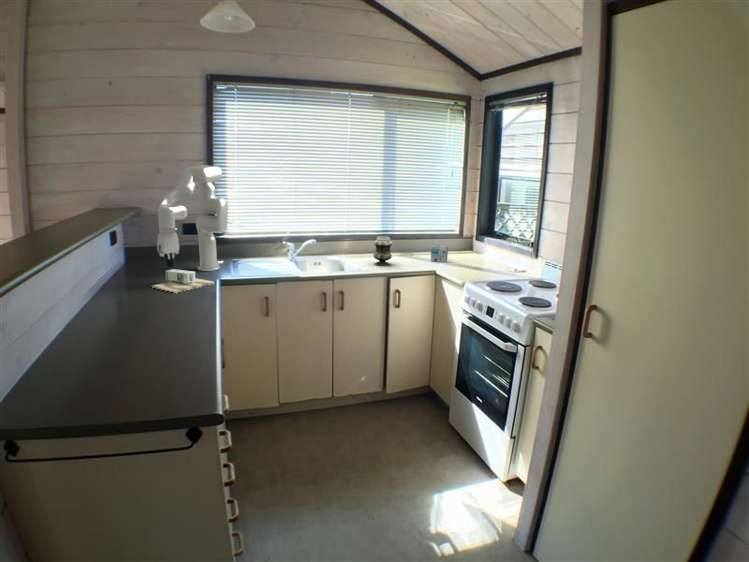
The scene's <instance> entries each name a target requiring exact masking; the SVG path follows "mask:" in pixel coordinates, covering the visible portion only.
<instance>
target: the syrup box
mask: <svg viewBox="0 0 749 562" xmlns="http://www.w3.org/2000/svg"><path fill="white" fill-rule="evenodd" d="M195 278H196V271H191V270H183V269H175V268H172V269H167V270H165V282H175V283H183V284H191V283H195Z"/></svg>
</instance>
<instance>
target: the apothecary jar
mask: <svg viewBox="0 0 749 562" xmlns="http://www.w3.org/2000/svg"><path fill="white" fill-rule="evenodd" d="M373 245H374V246H375V252H374V253H373V258H374V259H375V260H376V261H377V262H374V265H376V266H380V267H381V266H382V267H386V266H387V267H388V266H390V262H387V261H390V260H391V259H392V257H393V254H391V247H392V245H393V241H392V240H391V238H390V236H385V235H384V236H383V235H381V236H380V235H379V236H377V237H376V239H375V240H374V242H373Z"/></svg>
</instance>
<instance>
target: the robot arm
mask: <svg viewBox="0 0 749 562" xmlns="http://www.w3.org/2000/svg"><path fill="white" fill-rule="evenodd" d="M222 178H223V170H222V168H221V167H219V166H218V165H206V164H204V165H203V164H201V165H200V164H198V165H194V166H188V167H186V168H185V169H184V171H183V173H182V176H181V178H180V180H179V182H178V184H177V186H176V187H175V188H173V189H172V190H170V191H169V192H167V193H166V194H165V195H164V196H163V197H162V199H161V201H160V204H159V205H158V206H159V207H158V208H157V213H158V214H157V215H158V216H157V217H158V228H159V229H158V230H159V233H158V234H157V242H156V247H157V248H156V249H157V253H158V255H159V257H163V258H164V259H166V260H165V261H166V263H165V264H166V267H170V268H171V267H174V259H175V256H176V255H178V254H180V242H179V237H178V233H177V232H176V231H178V228H177V227H176V220H177V221H179V220H184V219H186V218H187V217H188V209H187V207H185V206H184V205H180V204H176V203H177V202H179V201H182V200H185V199H187V198H190V197H191V196H193V195H194V192H195V190H196V188H197V185H198V188H199V201H198V202H199V211H200V212H201V213H204V214H209V215H200V216H198V217H197V218H196V220H195V227H196V231H197V235H198V236H197V237H198V250H199V266H197V270H198V271H200V270H201V272H212V271H218V270H220V269H221V266H220V265H224V264H223V263H224V260H218V257H217V256H218V255H217V240H216V237H215V235H214V233H218V234H223V233H225V232H226V230H227V227H228V213H229V212H228V208H229V207H228V206H229V205H228V202H227V200H226V199H225V198H224V197H219V196H216V188H215V185H214V184H213V183H216V182H219V181H221V179H222ZM210 214H212V215H210ZM215 214H216V215H215Z"/></svg>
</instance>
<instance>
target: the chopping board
mask: <svg viewBox="0 0 749 562" xmlns="http://www.w3.org/2000/svg"><path fill="white" fill-rule="evenodd" d="M211 284H212V285H214V284H215V281H211V280H207V279H204V278H203V279H202V278H197V277H195V283H191V284H183V283H175V282H168V281H165V282H163V283H159V284H153V285H151V286H150V287H152V288H151V289H153V288H156V289H155V290H157V289H161V290H160V291H162V290H165V291H164V292H166V291H169V292H168V293H170V292H173V293H172V294H175V293H176V294H179V293H178V292H180V293H183V292H182V291H184V292H187V291H186V290H188V291H191V289H192V290H195V288H196V289H200V288H203V286H204V287H207V285H208V286H211ZM199 287H200V288H199Z"/></svg>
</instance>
